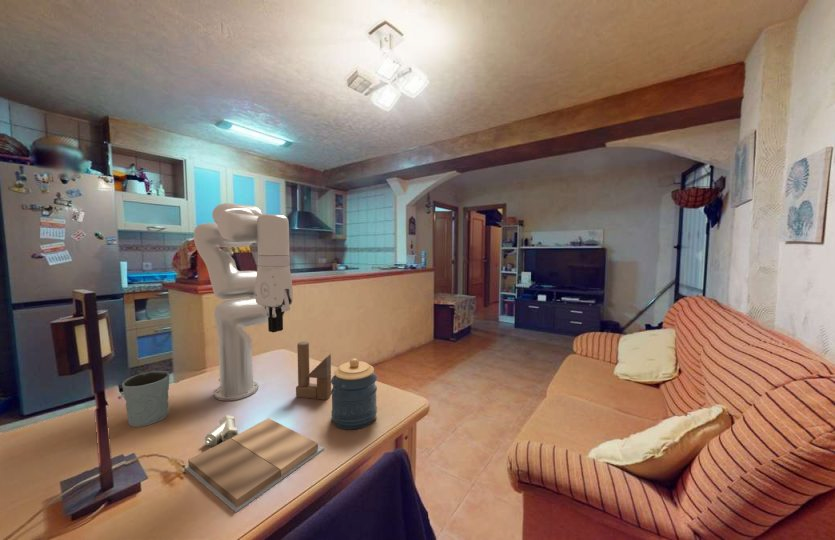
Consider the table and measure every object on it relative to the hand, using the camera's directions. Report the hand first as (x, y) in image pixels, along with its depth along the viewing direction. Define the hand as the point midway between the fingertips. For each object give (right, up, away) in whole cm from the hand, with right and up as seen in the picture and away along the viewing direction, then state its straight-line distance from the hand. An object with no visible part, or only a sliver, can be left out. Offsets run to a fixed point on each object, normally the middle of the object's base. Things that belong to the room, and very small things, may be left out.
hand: (275, 330), depth 81 cm
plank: (+3, -27, -7) cm, 28 cm away
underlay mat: (0, -28, -10) cm, 30 cm away
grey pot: (-39, -27, +6) cm, 48 cm away
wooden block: (+3, -26, +20) cm, 33 cm away
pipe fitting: (-13, -28, -2) cm, 31 cm away
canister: (+19, -27, +8) cm, 34 cm away
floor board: (-2, -28, -15) cm, 32 cm away
